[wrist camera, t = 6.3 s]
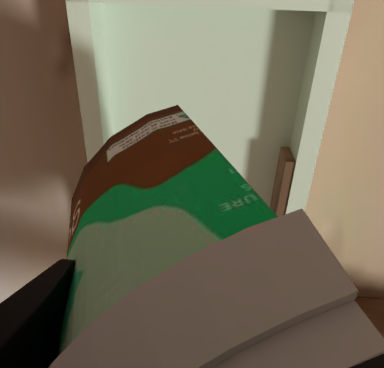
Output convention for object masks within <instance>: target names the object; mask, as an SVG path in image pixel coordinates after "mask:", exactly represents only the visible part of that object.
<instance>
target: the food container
mask: <svg viewBox="0 0 384 368" xmlns="http://www.w3.org/2000/svg"><path fill="white" fill-rule="evenodd" d="M67 259H71V260H75V261H76V263H75V267H74V272H73V276H72V281H71V285H70V290H69V294H68V299H67V304H66V309H65V313H64V318H63V323H62V328H61V336H60V344H59V352H58V357H57V358H56V359H55V360H54V361H53V362H52V364H51V365H50V367H49V368H350V367H352V366H355V365H357V364H360V363H362V362H364V361H367V360H369V359H372V358H374V357H376V356H379V355H381V354H384V338H383V337H382V335H381V334H380V333H379V331H378V330H377V329H376V328H375V326H374V325H373V324H372V322H371V321H370V320H369V318H368V317H367V316H366V315H365V313H364V312H363V311H362V309H361V308H360V307H359V305H358V304H357V303H356V302H355V299H356V297H357V294H358V289H357V288H356V286H355V285H354V283H353V282H352V281H351V279H350V278H349V276H348V275H347V273H346V272H345V270H344V269H343V267H342V266H341V264H340V263H339V262H338V260H337V259H336V257H335V256H334V254H333V253H332V251H331V250H330V248H329V247H328V245H327V244H326V243H325V241H324V240H323V238H322V237H321V235H320V234H319V232H318V231H317V229H316V228H315V226H314V225H313V224H312V222H311V221H310V219H309V218H308V216H307V215H306V213H305V212H304V210H303V209H299V210H296V211H293V212H290V213H288V214H285V215H282V216H279V217H278V216H277V215H276V214H275V212H274V211H273V210H272V209H271V208H270V207H269V206H268V205H267V204H266V202H265V201H264V200H263V199H262V198H261V197H260V196H259V195H258V193H257V192H256V191H255V190H254V189H253V188H252V187H251V186H250V185H249V183H248V182H247V181H246V180H245V179H244V178H243V177H242V176H241V175H240V173H239V172H238V171H237V170H236V169H235V168H234V167H233V166H232V164H231V163H230V162H229V161H228V160H227V159H226V158H225V157H224V156H223V154H222V153H221V152H220V151H219V150H218V149H217V148H216V147H215V146H214V144H213V143H212V142H211V141H210V140H209V139H208V138H207V137H206V135H205V134H204V133H203V132H202V131H201V130H200V129H199V128H198V127H197V125H196V124H195V123H194V122H193V121H192V120H191V119H190V118H189V117H188V115H187V114H186V113H185V112H184V111H183V110H182V109H181V108H180V107H179V105H176V106H172V107H169V108H166V109H162V110H159V111H156V112H153V113H149V114H147V115H145V116H143V117H142V118H140V119H138V120H137V121H135V122H134V123H132V124H130V125H129V126H127V127H126V128H124V129H122V130H121V131H119V132H117V133H116V134H114V135H113V136H111V137H110V138H109V139H108V140H107V141H106V143H105V144H104V145H103V146H102V147H101V148H100V149H99V151H98V152H97V153H96V154H95V155H94V156H93V157H92V159H91V160H90V161H89V162H88V163H87V164H86V165H85V167H84V169H83V172H82V174H81V177H80V179H79V182H78V184H77V187H76V190H75V192H74V195H73V197H72V205H71V216H70V227H69V239H68V250H67Z"/></svg>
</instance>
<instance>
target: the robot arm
mask: <svg viewBox="0 0 384 368" xmlns="http://www.w3.org/2000/svg"><path fill="white" fill-rule="evenodd" d="M75 263H76V261H75V260H71V259H61V260H59V261H57V262H56V263H55V264H53V265H52V266H51V267H49V268H48V269H47V270H45V271H44V272H42V273H41V274H40V275H38V276H37V277H36V278H34V279H33V280H32V281H30V282H29V283H27V284H26V285H25V286H23V287H22V288H21V289H19V290H18V291H16V292H15V293H14V294H12V295H11V296H10V297H8V298H7V299H6V300H4V301H3V302H1V303H0V368H49V367H50V365H51V364H52V362H53V361H54V360H55V359H56V358H57V357H58V352H59V344H60V336H61V328H62V323H63V318H64V313H65V309H66V304H67V299H68V294H69V290H70V285H71V281H72V276H73V272H74V267H75ZM350 368H384V354H381V355H379V356H376V357H374V358H372V359H369V360H367V361H364V362H362V363H360V364H357V365H355V366H352V367H350Z"/></svg>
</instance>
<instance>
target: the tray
mask: <svg viewBox="0 0 384 368" xmlns="http://www.w3.org/2000/svg"><path fill="white" fill-rule="evenodd" d="M65 1H66V9H67V16H68V23H69V31H70V38H71V46H72V53H73V60H74V68H75V75H76V82H77V90H78V97H79V104H80V112H81V119H82V126H83V134H84V141H85V149H86V156H87V163H88V162H89V161H90V160H91V159H92V157H93V156H94V155H95V154H96V153H97V152H98V151H99V149H100V148H101V147H102V146H103V145H104V144H105V143H106V141H107V140H108V139H109V138H110V137H111V136H113V135H114V134H116V133H117V132H119V131H121V130H122V129H124V128H126V127H127V126H129V125H130V124H132V123H134V122H135V121H137V120H138V119H140V118H142V117H143V116H145V115H147V114H149V113H153V112H156V111H159V110H162V109H166V108H169V107H172V106H176V105H179V107H180V108H181V109H182V110H183V111H184V112H185V113H186V114H187V115H188V117H189V118H190V119H191V120H192V121H193V122H194V123H195V124H196V125H197V127H198V128H199V129H200V130H201V131H202V132H203V133H204V134H205V135H206V137H207V138H208V139H209V140H210V141H211V142H212V143H213V144H214V146H215V147H216V148H217V149H218V150H219V151H220V152H221V153H222V154H223V156H224V157H225V158H226V159H227V160H228V161H229V162H230V163H231V164H232V166H233V167H234V168H235V169H236V170H237V171H238V172H239V173H240V175H241V176H242V177H243V178H244V179H245V180H246V181H247V182H248V183H249V185H250V186H251V187H252V188H253V189H254V190H255V191H256V192H257V193H258V195H259V196H260V197H261V198H262V199H263V200H264V201H265V202H266V204H267V205H268V206H269V207H270V204H271V198H272V193H273V187H274V181H275V175H276V170H277V164H278V158H279V152H280V147H290V150H291V152H292V154H293V157H294V159H295V162H296V164H295V168H294V173H293V178H292V183H291V188H290V193H289V198H288V203H287V208H286V213H285V214H288V213H290V212H293V211H296V210H299V209H303V210H304V212H305V208H306V204H307V199H308V195H309V191H310V187H311V183H312V178H313V174H314V170H315V166H316V161H317V157H318V153H319V149H320V144H321V140H322V136H323V132H324V128H325V123H326V119H327V115H328V111H329V106H330V102H331V98H332V94H333V90H334V85H335V81H336V77H337V73H338V68H339V64H340V60H341V56H342V51H343V47H344V43H345V39H346V35H347V30H348V26H349V22H350V18H351V13H352V9H353V5H354V1H355V0H65Z"/></svg>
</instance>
